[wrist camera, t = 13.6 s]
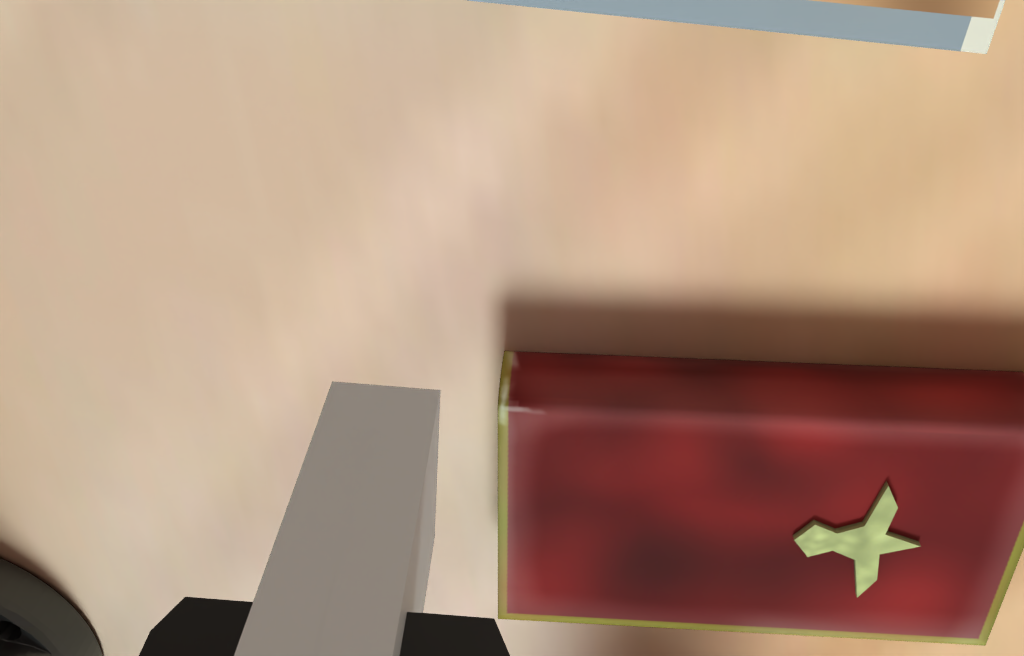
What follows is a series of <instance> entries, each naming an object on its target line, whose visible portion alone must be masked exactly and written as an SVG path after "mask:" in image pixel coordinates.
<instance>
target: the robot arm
mask: <svg viewBox="0 0 1024 656" xmlns="http://www.w3.org/2000/svg"><path fill="white" fill-rule="evenodd" d="M439 412H440V390H432V389H419V388H407V387H394V386H382V385H369V384H357V383H345V382H332V384H331V387H330V389H329V392H328V395H327V398H326V401H325V403H324V406H323V409H322V412H321V415H320V417H319V420H318V423H317V426H316V428H315V431H314V434H313V437H312V440H311V442H310V445H309V448H308V451H307V454H306V456H305V459H304V462H303V465H302V467H301V470H300V473H299V476H298V479H297V481H296V484H295V487H294V490H293V493H292V495H291V498H290V501H289V504H288V506H287V509H286V512H285V515H284V518H283V520H282V523H281V526H280V529H279V532H278V534H277V537H276V540H275V543H274V545H273V548H272V551H271V554H270V557H269V559H268V562H267V565H266V568H265V571H264V573H263V576H262V579H261V582H260V584H259V587H258V590H257V593H256V596H255V598H254V601H253V602H244V601H231V600H219V599H206V598H193V597H185V598H184V599H183V600H182V601H181V602H180V603H179V604H177V605H176V606H175V607H174V608H173V609H172V610H171V611H170V612H169V613H168V614H167V615H166V616H165V617H164V618H163V619H162V620H161V621H160V622H159V623H158V624H157V625H156V626H155V627H154V628H153V629H152V630H151V631H150V633H149V635H148V637H147V640H146V642H145V644H144V646H143V648H142V650H141V652H140V655H139V656H510V655H509V652H508V650H507V648H506V645H505V643H504V641H503V638H502V636H501V634H500V631H499V629H498V627H497V624H496V622H495V620H494V619H492V618H479V617H466V616H454V615H441V614H428V613H423V609H424V602H425V596H426V589H427V583H428V576H429V570H430V563H431V557H432V550H433V544H434V537H435V513H436V488H437V463H438V437H439ZM0 656H102V652H101V649H100V646H99V644H98V642H97V640H96V638H95V636H94V634H93V632H92V631H91V629H90V627H89V626H88V625H87V623H86V622H85V620H84V619H83V618H82V617H81V615H80V614H79V613H78V612H77V611H76V610H75V609H74V608H73V607H72V606H71V605H70V604H69V603H68V602H67V601H66V600H65V599H64V598H63V597H62V596H61V595H59V594H58V593H57V592H56V591H55V590H53V589H52V588H51V587H49V586H48V585H47V584H45V583H44V582H42V581H41V580H39V579H38V578H36V577H35V576H33V575H31V574H30V573H28V572H26V571H25V570H23V569H21V568H19V567H17V566H15V565H13V564H11V563H9V562H7V561H5V560H3V559H0Z"/></svg>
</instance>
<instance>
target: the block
mask: <svg viewBox="0 0 1024 656" xmlns="http://www.w3.org/2000/svg"><path fill="white" fill-rule="evenodd" d="M811 1H821V2H831V3H841V4H851V5H861V6H871V7H881V8H891V9H901V10H911V11H921V12H931V13H941V14H951V15H961V16H971V17H981V18H991V19H994V16H995V13H996V10H997V7H998V4H999V1H1000V0H811Z"/></svg>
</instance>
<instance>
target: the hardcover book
mask: <svg viewBox="0 0 1024 656" xmlns="http://www.w3.org/2000/svg"><path fill="white" fill-rule="evenodd" d="M1023 548H1024V372H1015V371H990V370H965V369H940V368H915V367H890V366H865V365H840V364H815V363H790V362H765V361H740V360H715V359H690V358H666V357H641V356H616V355H591V354H566V353H541V352H516V351H504V356H503V362H502V369H501V378H500V387H499V397H498V619H512V620H531V621H549V622H567V623H585V624H603V625H622V626H640V627H658V628H676V629H694V630H713V631H731V632H749V633H767V634H785V635H804V636H822V637H840V638H858V639H876V640H895V641H913V642H931V643H949V644H967V645H986V642H987V640H988V637H989V635H990V632H991V630H992V627H993V624H994V622H995V619H996V617H997V614H998V612H999V609H1000V607H1001V604H1002V602H1003V599H1004V596H1005V594H1006V591H1007V589H1008V586H1009V584H1010V581H1011V579H1012V576H1013V574H1014V571H1015V569H1016V566H1017V563H1018V561H1019V558H1020V556H1021V553H1022V551H1023Z"/></svg>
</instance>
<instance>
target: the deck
mask: <svg viewBox="0 0 1024 656" xmlns="http://www.w3.org/2000/svg"><path fill="white" fill-rule="evenodd" d="M469 1H479V2H488V3H498V4H508V5H517V6H527V7H537V8H546V9H556V10H566V11H575V12H585V13H595V14H605V15H614V16H624V17H634V18H643V19H653V20H663V21H672V22H682V23H692V24H701V25H711V26H721V27H730V28H740V29H750V30H759V31H769V32H779V33H789V34H798V35H808V36H818V37H827V38H837V39H847V40H856V41H866V42H876V43H885V44H895V45H905V46H914V47H924V48H934V49H944V50H953V51H963V52H973V53H982V54H987V51H988V48H989V45H990V43H991V40H992V37H993V34H994V31H995V28H996V25H997V23H998V20H999V17H1000V14H1001V11H1002V8H1003V5H1004V3H1005V0H1000V1H999V4H998V7H997V10H996V13H995V16H994V19H991V18H981V17H971V16H961V15H951V14H941V13H931V12H921V11H911V10H901V9H891V8H881V7H871V6H861V5H851V4H841V3H831V2H821V1H811V0H469Z"/></svg>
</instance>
